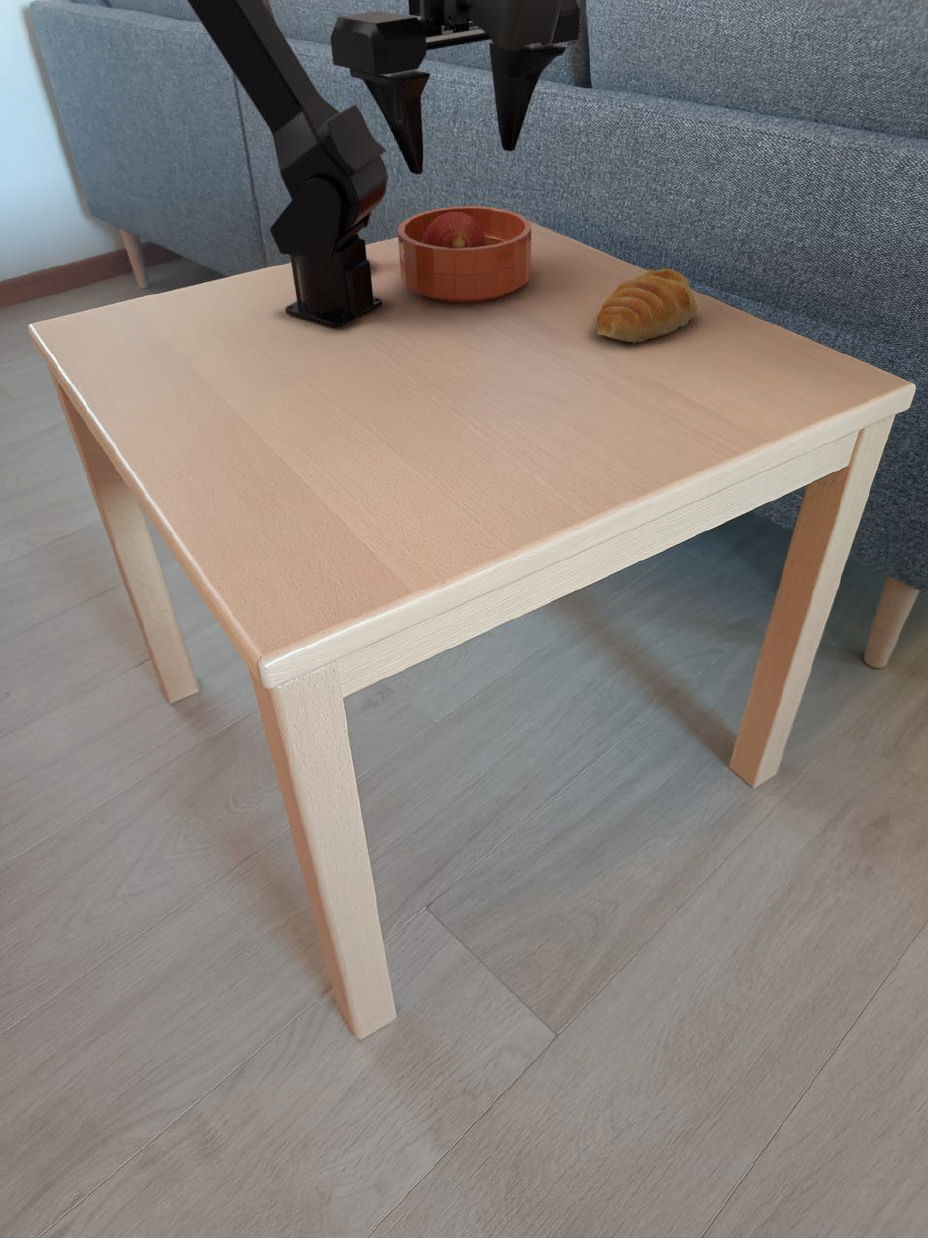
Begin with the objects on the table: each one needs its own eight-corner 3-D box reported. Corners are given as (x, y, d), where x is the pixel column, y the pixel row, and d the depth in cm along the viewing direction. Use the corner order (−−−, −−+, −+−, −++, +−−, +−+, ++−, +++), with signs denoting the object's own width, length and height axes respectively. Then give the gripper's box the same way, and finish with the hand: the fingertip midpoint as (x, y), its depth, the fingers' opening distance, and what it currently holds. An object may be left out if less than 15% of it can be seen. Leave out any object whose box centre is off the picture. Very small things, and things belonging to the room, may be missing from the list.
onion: (413, 224, 78) (412, 228, 85) (438, 290, 80) (434, 288, 87) (475, 198, 77) (468, 205, 85) (498, 265, 80) (490, 265, 87)
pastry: (642, 356, 72) (647, 309, 69) (574, 335, 75) (576, 290, 73) (701, 318, 77) (707, 273, 75) (634, 300, 81) (638, 257, 78)
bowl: (375, 288, 84) (370, 234, 81) (452, 250, 92) (450, 198, 88) (481, 316, 79) (480, 259, 75) (554, 273, 86) (556, 219, 83)
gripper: (418, -83, 50) (432, 211, 60) (646, -103, 58) (623, 158, 69) (312, -89, 56) (341, 177, 67) (531, -106, 65) (526, 132, 75)
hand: (463, 161), depth 69 cm, fingers open, 9 cm apart
